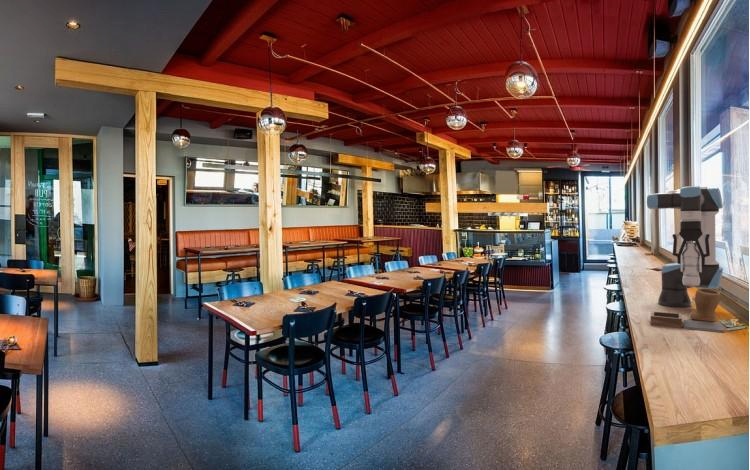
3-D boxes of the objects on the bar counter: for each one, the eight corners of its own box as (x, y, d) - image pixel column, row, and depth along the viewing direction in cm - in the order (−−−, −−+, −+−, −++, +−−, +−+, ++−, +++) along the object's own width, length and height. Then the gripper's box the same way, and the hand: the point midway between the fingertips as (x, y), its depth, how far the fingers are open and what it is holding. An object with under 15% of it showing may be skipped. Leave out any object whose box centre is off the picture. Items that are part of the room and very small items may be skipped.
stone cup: (719, 324, 191) (719, 292, 191) (687, 321, 200) (687, 289, 199) (722, 318, 202) (722, 287, 202) (691, 315, 211) (691, 285, 210)
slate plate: (683, 321, 199) (683, 319, 199) (721, 325, 190) (721, 323, 190) (683, 328, 187) (683, 326, 187) (724, 332, 179) (724, 330, 179)
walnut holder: (651, 319, 205) (651, 311, 205) (681, 322, 198) (681, 313, 198) (650, 324, 195) (650, 316, 195) (682, 327, 188) (682, 318, 188)
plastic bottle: (704, 287, 187) (704, 242, 186) (688, 287, 187) (688, 243, 187) (693, 285, 194) (693, 242, 193) (678, 285, 194) (678, 242, 193)
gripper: (664, 221, 192) (665, 271, 193) (718, 220, 181) (718, 273, 182) (665, 221, 198) (665, 269, 199) (717, 219, 187) (717, 271, 188)
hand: (691, 271), depth 190 cm, fingers closed on plastic bottle, 6 cm apart
